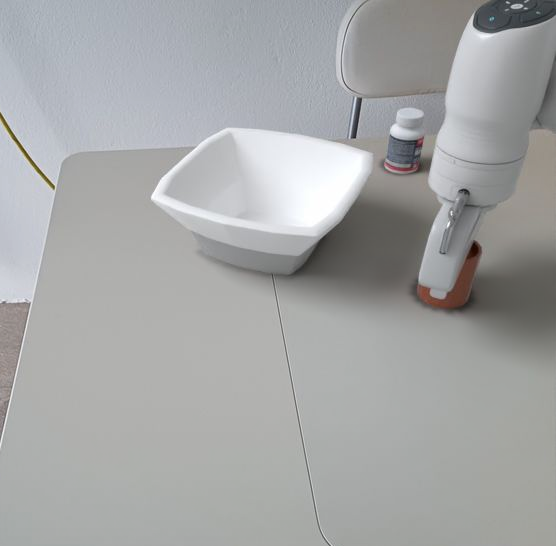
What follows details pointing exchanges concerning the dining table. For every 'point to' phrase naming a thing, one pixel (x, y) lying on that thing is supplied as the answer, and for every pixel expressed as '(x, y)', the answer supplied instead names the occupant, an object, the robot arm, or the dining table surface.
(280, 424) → the dining table surface
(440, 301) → the cup
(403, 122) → the pill bottle
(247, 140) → the bowl
